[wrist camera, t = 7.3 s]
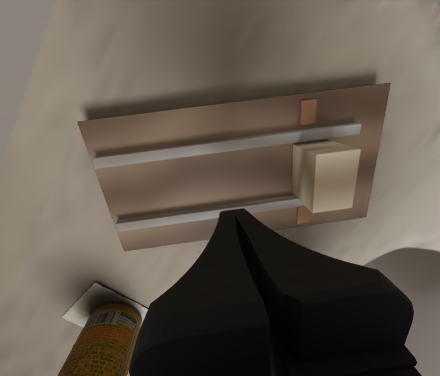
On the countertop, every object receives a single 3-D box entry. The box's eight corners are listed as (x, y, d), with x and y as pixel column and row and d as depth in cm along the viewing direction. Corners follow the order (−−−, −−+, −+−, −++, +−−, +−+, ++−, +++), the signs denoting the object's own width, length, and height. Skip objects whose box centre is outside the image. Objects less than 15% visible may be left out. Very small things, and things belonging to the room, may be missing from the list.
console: (355, 209, 22) (372, 221, 20) (129, 241, 21) (121, 256, 19) (375, 84, 17) (399, 81, 15) (87, 120, 17) (70, 122, 14)
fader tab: (324, 188, 19) (352, 207, 15) (291, 193, 19) (312, 213, 15) (328, 140, 17) (360, 148, 14) (292, 144, 17) (316, 154, 13)
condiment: (123, 343, 27) (68, 510, 16) (62, 316, 24) (-56, 493, 13) (158, 313, 25) (124, 474, 14) (96, 279, 23) (-5, 446, 12)
